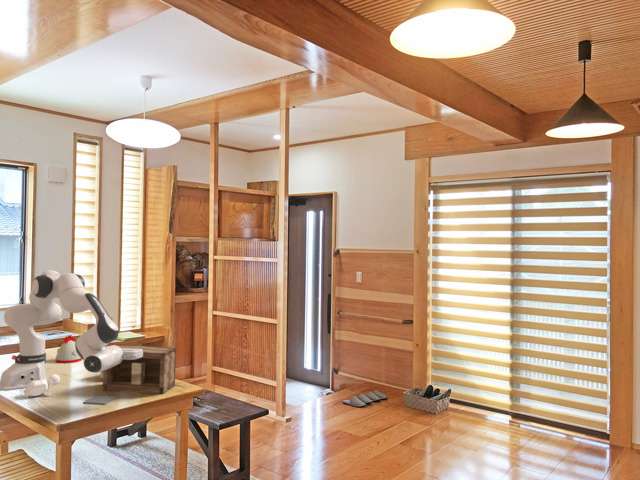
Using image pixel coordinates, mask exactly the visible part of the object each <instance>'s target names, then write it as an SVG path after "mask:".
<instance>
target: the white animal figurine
mask: <svg viewBox="0 0 640 480" xmlns="http://www.w3.org/2000/svg"><path fill="white" fill-rule="evenodd" d="M47 379H48V381H47V380H45V379H42V380H37V381H32V382H31V383H30V384H29V385H28V386H27V387H26V388H24V389H23V390H22V391H23V393H24V396H25V397H26V399H29V397H37V396H40V395H45V396H47V397H51V396H52V394H51V392H50V391H49V389H50V387H54V386H57V385H59V383H60V381H61V378H60V376H59V375H58V374H55V373H54V374H51V375H50V376H49V377H47ZM49 386H50V387H49Z"/></svg>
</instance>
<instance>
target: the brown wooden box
mask: <svg viewBox="0 0 640 480" xmlns="http://www.w3.org/2000/svg"><path fill="white" fill-rule="evenodd" d="M116 346H118V347H120V348H132V349H135V348H138V349H142V350H143V357H141V358H138V359H134V360H125V359H123V360H122V362H121V363H120V364H118V365H116V366H114V367H111V368H109V369H107V370H105V371H103V378H102V391H105V392H107V391H109V392H121V391H122V392H123V393H124V392H125V393H138V394H139V393H140V394H141V393H142V394H154V395H155V394H156V395H157V394H159V395H164V394H166V393H167V392H169V391H170V390H172V389H173V388H174V387H176V362H177V361H176V359H177V356H176V355H177V347H172V346H171V347H170V346H169V347H167V346H152V345H151V346H149V345H133V344H132V345H130V344H128V345H127V344H117V345H116ZM135 361H145V379H144V383H142V384H131V375H132V363H133V362H135Z"/></svg>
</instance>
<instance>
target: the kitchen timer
mask: <svg viewBox="0 0 640 480" xmlns="http://www.w3.org/2000/svg"><path fill="white" fill-rule="evenodd" d="M63 342H64V343H62V344H61V345H60V347H59V348H58V349H57V351H56V356H55V362H56V363H58V364H73V363H78V362H82V360H83V359H82V358H81V357H80V356H79V355H78V353H77V352H76V348H75V343H76V337H74V336H72V335H71V334H69V335H66V336H65V338H63Z"/></svg>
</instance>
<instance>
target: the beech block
mask: <svg viewBox="0 0 640 480" xmlns="http://www.w3.org/2000/svg"><path fill="white" fill-rule="evenodd" d="M144 379H145V361H135V362H133V363H132V375H131V384H142V383H144Z"/></svg>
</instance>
